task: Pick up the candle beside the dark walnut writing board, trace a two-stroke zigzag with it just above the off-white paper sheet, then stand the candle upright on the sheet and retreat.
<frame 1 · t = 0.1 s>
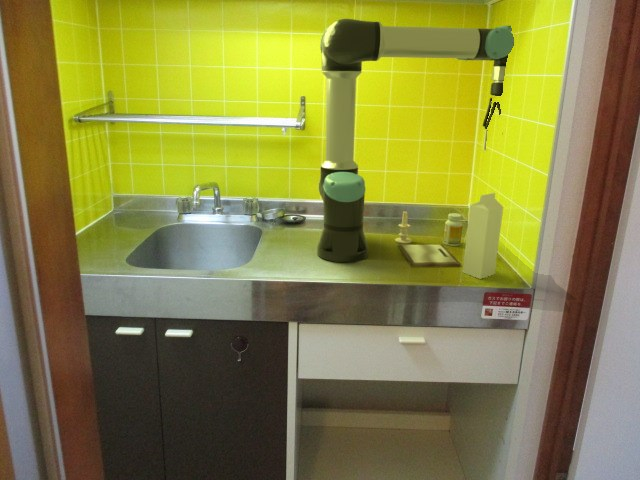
hand: (495, 153, 155), 28 cm above the worktop, fingers open, 13 cm apart
writing board: (427, 256, 146), on the worktop
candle: (403, 242, 159), on the worktop
supplement bottle: (451, 244, 158), on the worktop
milk: (478, 274, 134), on the worktop
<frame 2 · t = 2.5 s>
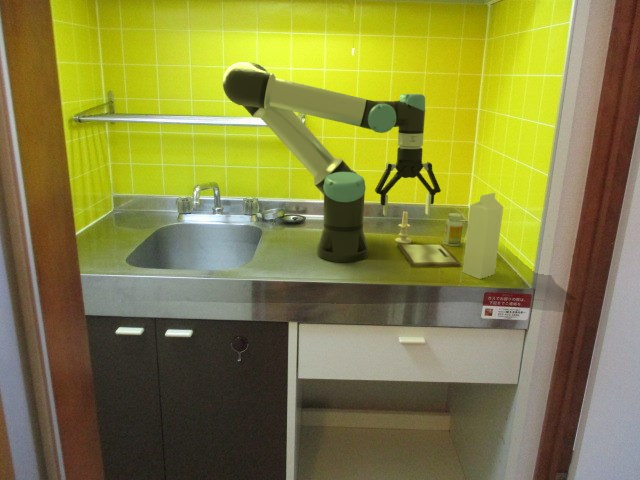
hand: (406, 214, 157), 9 cm above the worktop, fingers open, 13 cm apart
nothing on the worktop moved.
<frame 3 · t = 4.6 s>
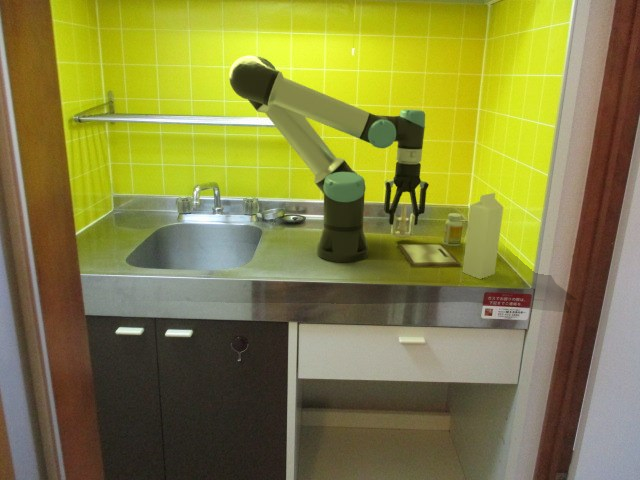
hand: (401, 234, 159), 2 cm above the worktop, fingers closed on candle, 5 cm apart
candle: (401, 235, 159), point 2 cm above the worktop, touching gripper
everything else where it was.
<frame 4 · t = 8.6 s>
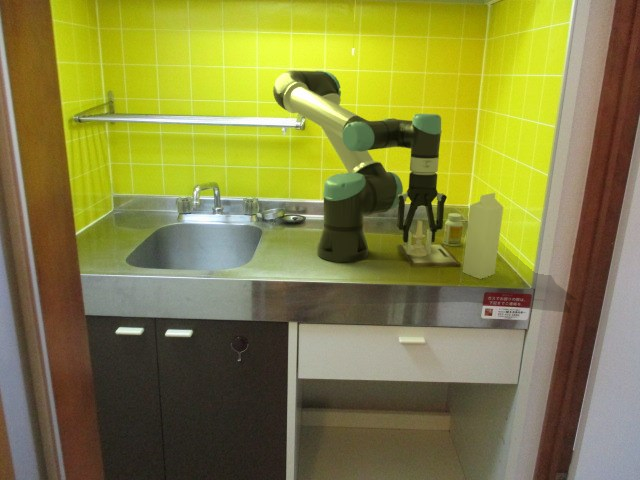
hand: (417, 252, 142), 2 cm above the worktop, fingers closed on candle, 5 cm apart
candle: (417, 254, 142), point 2 cm above the worktop, touching gripper
everything else where it was.
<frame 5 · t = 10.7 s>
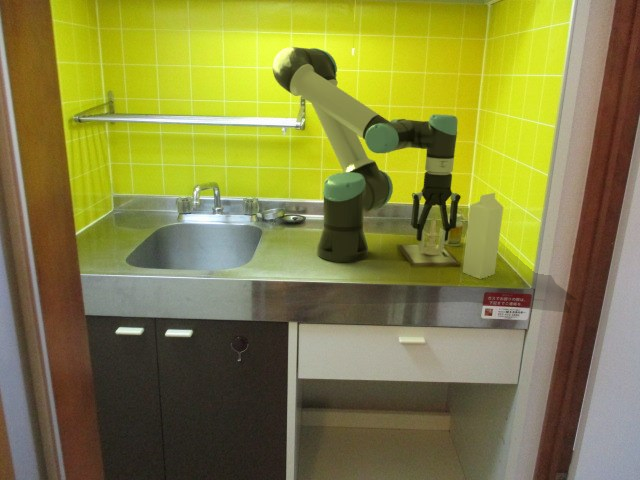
hand: (430, 250, 145), 2 cm above the worktop, fingers closed on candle, 5 cm apart
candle: (430, 252, 145), point 2 cm above the worktop, touching gripper
everything else where it was.
when the fingers open (2 cm above the worktop, at t = 12.7 s): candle stays where it is, resting on writing board.
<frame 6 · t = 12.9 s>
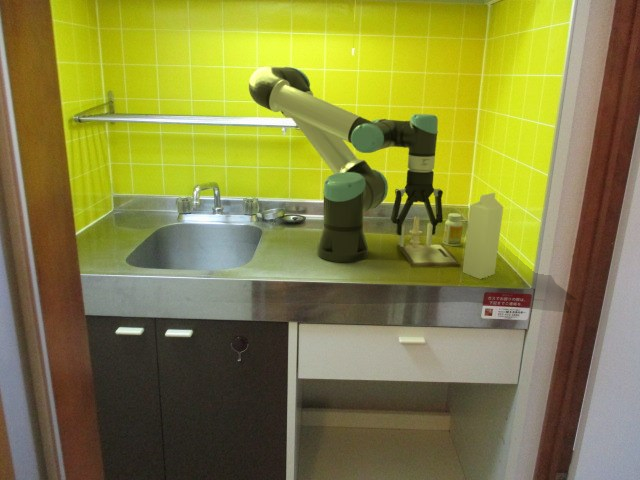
hand: (414, 244, 149), 2 cm above the worktop, fingers open, 8 cm apart
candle: (414, 249, 150), point 1 cm above the worktop, touching writing board
everything else where it was.
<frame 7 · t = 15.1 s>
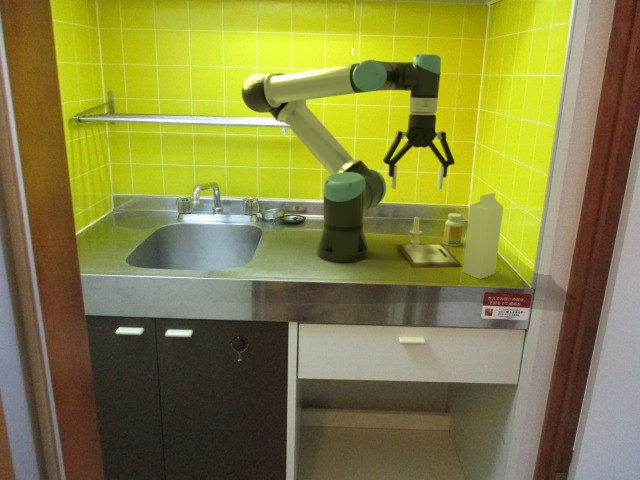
hand: (416, 188, 145), 19 cm above the worktop, fingers open, 13 cm apart
nothing on the worktop moved.
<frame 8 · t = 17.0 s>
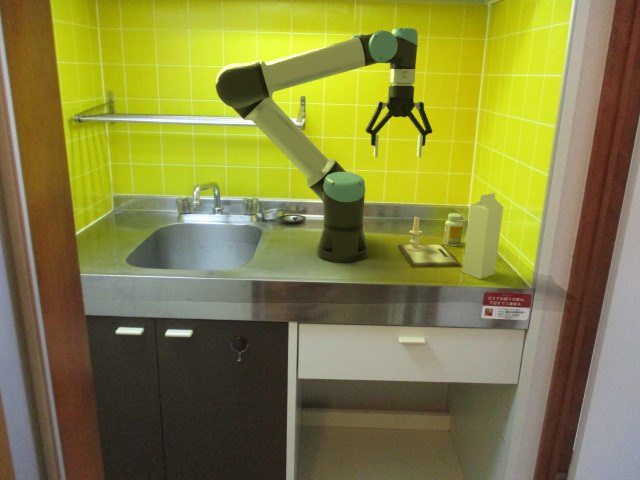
hand: (397, 156, 154), 27 cm above the worktop, fingers open, 13 cm apart
nothing on the worktop moved.
at the end: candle inside the target area on the writing board (5.0 cm from its centre), point 0.8 cm above the writing board's base; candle touching writing board; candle tilted 0° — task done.
